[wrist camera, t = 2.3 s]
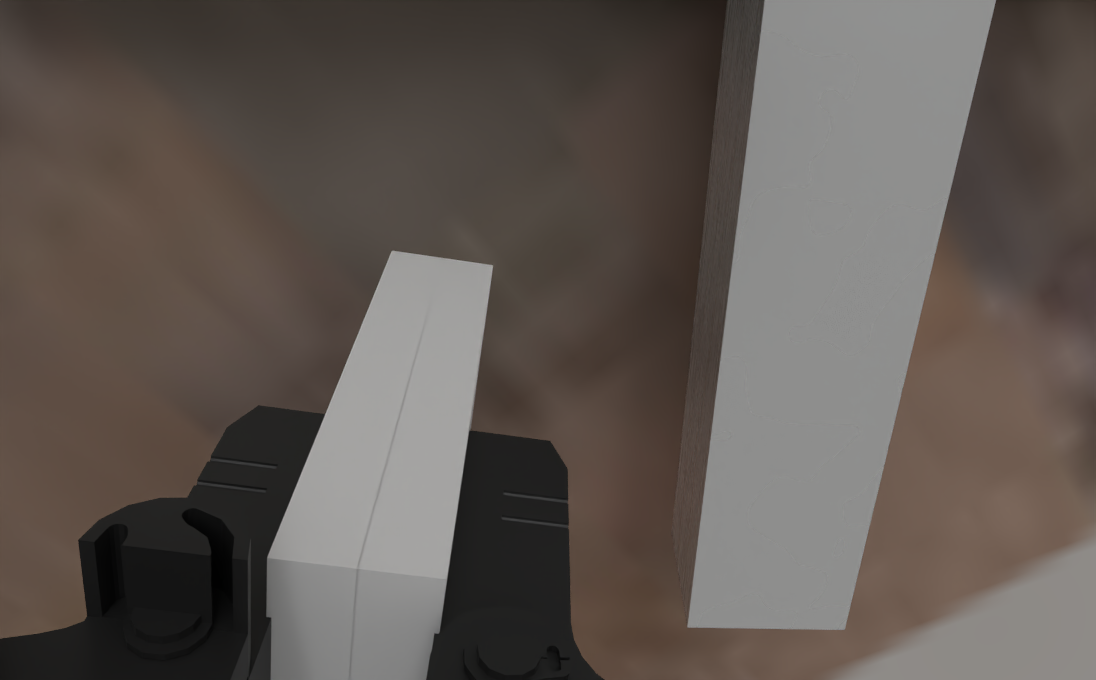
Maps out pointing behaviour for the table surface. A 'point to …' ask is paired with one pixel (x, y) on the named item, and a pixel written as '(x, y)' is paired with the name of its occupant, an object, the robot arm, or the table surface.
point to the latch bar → (812, 291)
